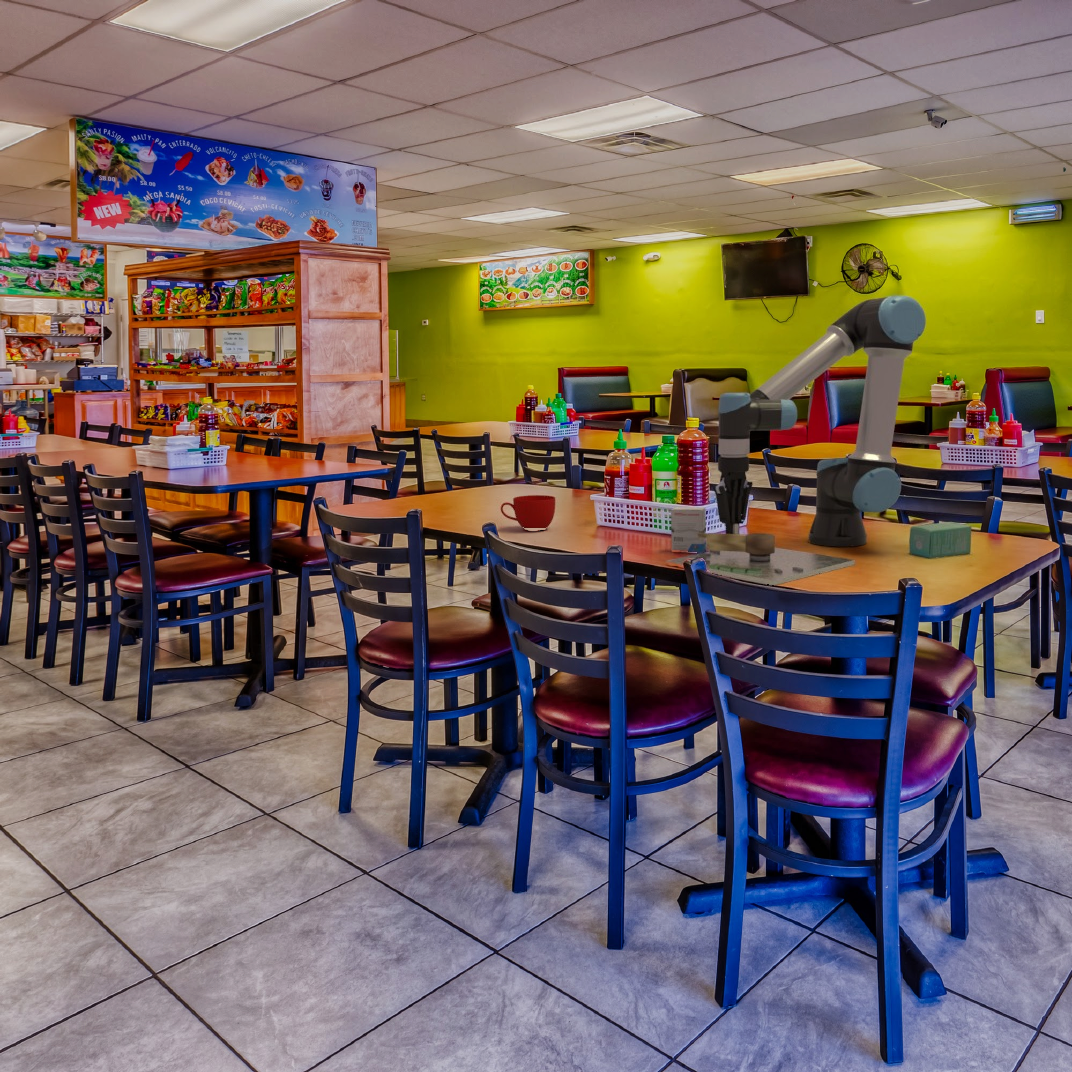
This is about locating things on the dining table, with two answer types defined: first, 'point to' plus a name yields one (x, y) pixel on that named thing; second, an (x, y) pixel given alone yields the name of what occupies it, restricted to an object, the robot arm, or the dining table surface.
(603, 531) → the dining table surface
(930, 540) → the box
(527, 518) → the ceramic cup
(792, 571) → the tuner plate
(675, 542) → the ink box
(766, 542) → the dial
